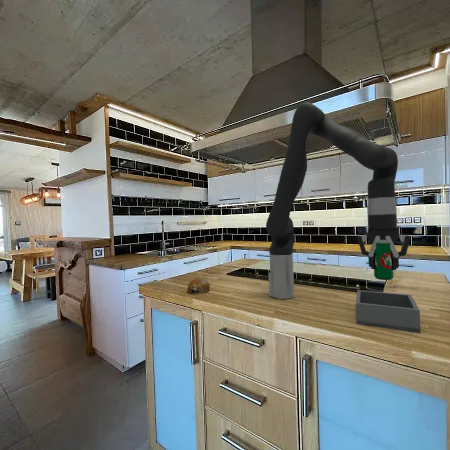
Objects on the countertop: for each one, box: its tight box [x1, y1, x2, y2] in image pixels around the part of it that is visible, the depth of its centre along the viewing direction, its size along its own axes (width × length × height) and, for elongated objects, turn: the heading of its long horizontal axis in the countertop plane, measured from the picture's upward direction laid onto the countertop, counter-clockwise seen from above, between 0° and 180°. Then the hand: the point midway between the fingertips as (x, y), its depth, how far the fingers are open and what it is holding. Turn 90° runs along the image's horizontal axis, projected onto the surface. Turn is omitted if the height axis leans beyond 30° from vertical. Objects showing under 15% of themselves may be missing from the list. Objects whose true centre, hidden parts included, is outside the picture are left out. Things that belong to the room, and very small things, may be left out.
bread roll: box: [187, 277, 211, 294], centre depth 117 cm, size 10×10×8 cm
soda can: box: [373, 240, 395, 281], centre depth 77 cm, size 5×5×12 cm
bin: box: [355, 289, 421, 334], centre depth 78 cm, size 15×15×6 cm
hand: (383, 269), depth 77 cm, fingers closed on soda can, 5 cm apart
